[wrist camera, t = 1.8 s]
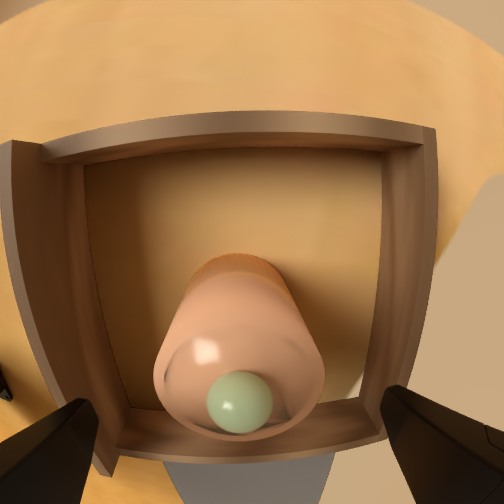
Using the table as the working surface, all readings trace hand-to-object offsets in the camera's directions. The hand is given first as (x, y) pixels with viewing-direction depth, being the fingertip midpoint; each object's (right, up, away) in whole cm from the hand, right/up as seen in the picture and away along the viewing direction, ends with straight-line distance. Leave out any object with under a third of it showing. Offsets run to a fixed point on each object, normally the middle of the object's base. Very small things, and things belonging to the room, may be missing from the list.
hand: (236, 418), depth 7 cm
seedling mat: (0, -18, +13) cm, 22 cm away
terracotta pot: (0, +2, +8) cm, 8 cm away
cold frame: (0, +2, +8) cm, 8 cm away
